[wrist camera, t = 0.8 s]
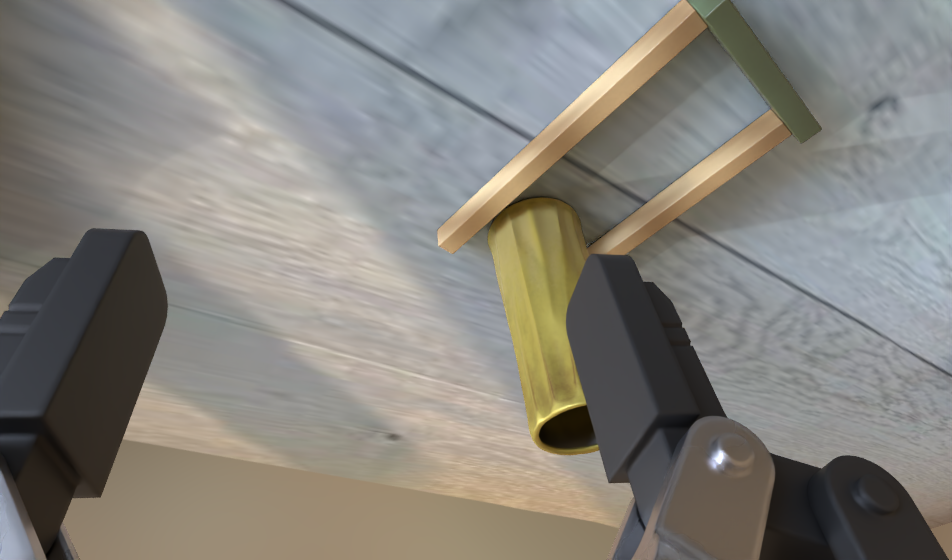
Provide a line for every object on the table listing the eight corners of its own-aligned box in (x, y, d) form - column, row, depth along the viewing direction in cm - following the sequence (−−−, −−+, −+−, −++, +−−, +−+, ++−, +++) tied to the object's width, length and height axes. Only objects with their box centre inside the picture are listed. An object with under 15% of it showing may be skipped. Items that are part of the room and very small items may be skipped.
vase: (536, 178, 33) (597, 381, 24) (598, 226, 37) (673, 421, 27) (468, 238, 36) (496, 440, 27) (531, 277, 40) (576, 469, 30)
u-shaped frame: (545, 293, 41) (552, 320, 39) (436, 230, 35) (439, 257, 34) (799, 105, 31) (823, 129, 30) (705, -24, 26) (727, -4, 24)
